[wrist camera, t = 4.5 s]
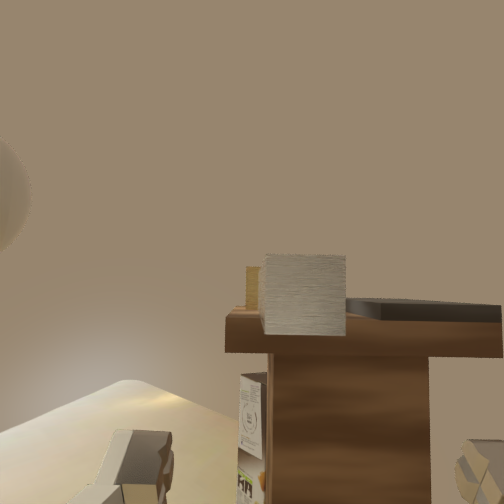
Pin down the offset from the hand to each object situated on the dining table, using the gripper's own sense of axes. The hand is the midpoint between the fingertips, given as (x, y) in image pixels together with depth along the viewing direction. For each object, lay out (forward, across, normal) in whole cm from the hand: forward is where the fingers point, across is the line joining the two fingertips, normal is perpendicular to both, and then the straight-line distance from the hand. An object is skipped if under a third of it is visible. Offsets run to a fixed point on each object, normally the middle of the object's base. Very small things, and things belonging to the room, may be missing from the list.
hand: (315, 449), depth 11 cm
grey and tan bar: (+15, 0, +5) cm, 16 cm away
